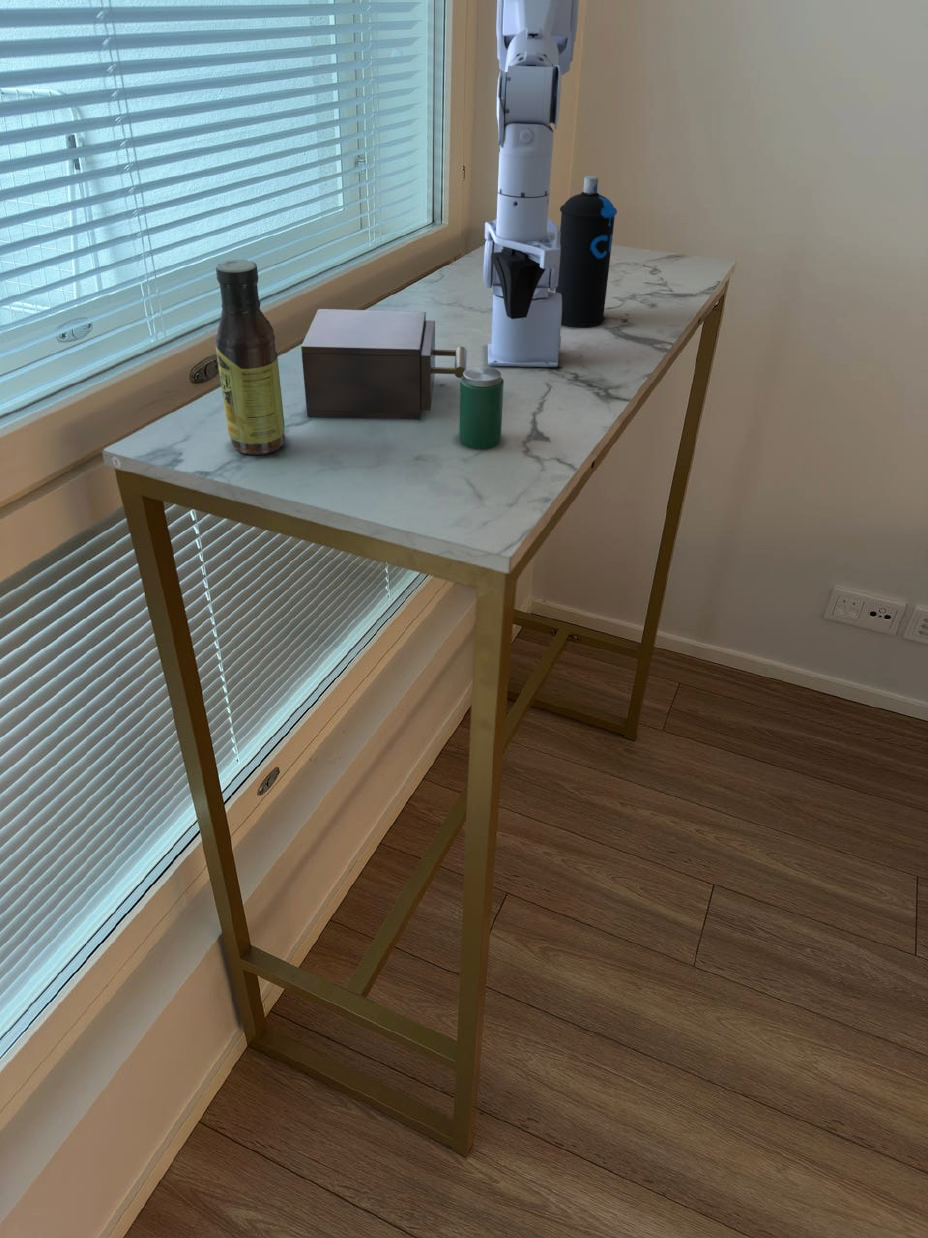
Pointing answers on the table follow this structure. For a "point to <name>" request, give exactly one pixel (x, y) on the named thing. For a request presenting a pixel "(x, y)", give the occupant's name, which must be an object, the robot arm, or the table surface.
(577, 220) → the aerosol can
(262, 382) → the sauce bottle
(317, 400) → the cabinet
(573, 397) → the table surface
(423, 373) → the drawer
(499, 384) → the can
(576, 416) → the table surface
